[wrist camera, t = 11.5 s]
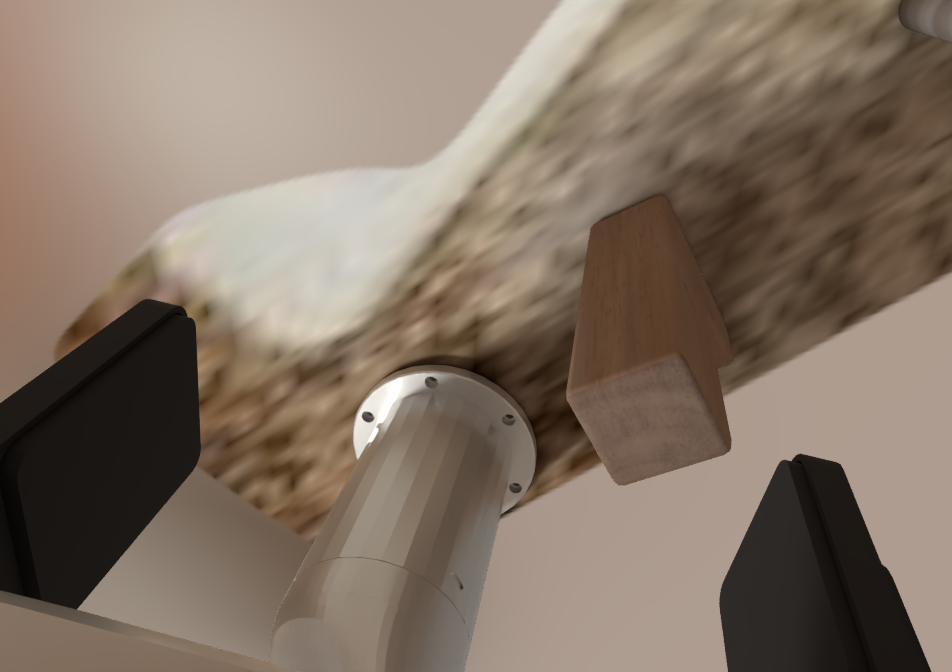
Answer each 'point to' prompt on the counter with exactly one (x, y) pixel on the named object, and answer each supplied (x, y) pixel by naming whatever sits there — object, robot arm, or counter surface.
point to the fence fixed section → (928, 17)
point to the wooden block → (648, 348)
